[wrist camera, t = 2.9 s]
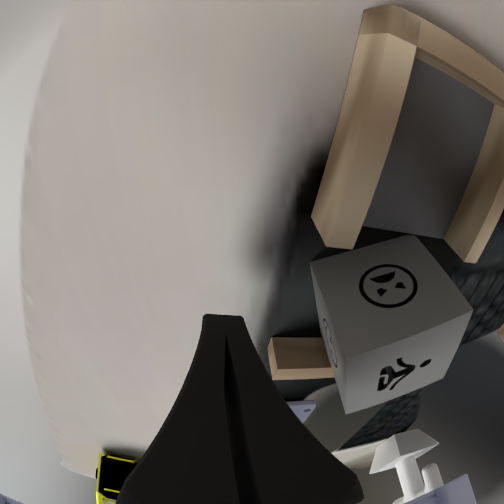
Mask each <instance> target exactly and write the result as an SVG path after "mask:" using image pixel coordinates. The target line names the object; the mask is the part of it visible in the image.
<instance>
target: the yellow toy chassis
mask: <svg viewBox="0 0 504 504" xmlns="http://www.w3.org/2000/svg"><path fill="white" fill-rule="evenodd" d="M137 464H138V463H137V461H136V460H134V459H132V458H128V457H124V456H116V455H111V454H109V455H105V456H102V454H101V453H100V455H99V464H98V468H97V469H96V479H97V486H96V498H97V504H116V500H117V497H118V495H119V492H120V490H121V488H122V486H123V484H124V481H125V480H126V478H127V477H128V476H129V474H130V473H131V472H132V470H133V469H134V468H135V466H136V465H137Z"/></svg>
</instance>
